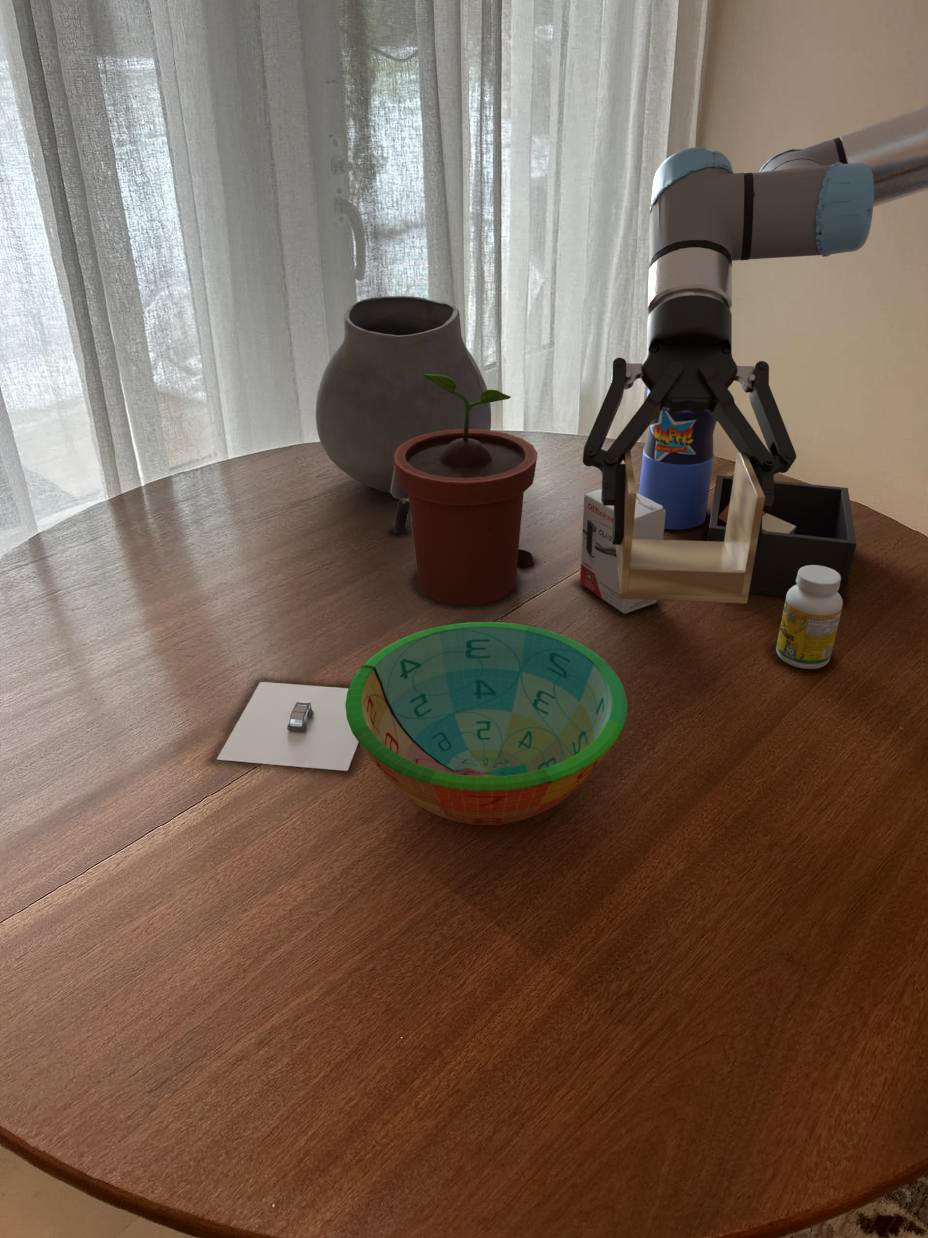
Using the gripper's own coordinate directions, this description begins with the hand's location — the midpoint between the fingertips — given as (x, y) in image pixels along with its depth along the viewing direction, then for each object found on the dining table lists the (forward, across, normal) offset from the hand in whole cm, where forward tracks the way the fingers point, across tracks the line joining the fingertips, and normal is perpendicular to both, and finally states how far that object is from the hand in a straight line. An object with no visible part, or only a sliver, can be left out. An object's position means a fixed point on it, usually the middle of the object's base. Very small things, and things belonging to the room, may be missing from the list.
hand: (685, 542), depth 80 cm
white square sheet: (+17, +34, -8) cm, 39 cm away
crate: (+1, 0, -5) cm, 5 cm away
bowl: (+22, +16, -3) cm, 27 cm away
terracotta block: (-13, -10, -33) cm, 37 cm away
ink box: (-2, +4, -27) cm, 27 cm away
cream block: (-10, -14, -33) cm, 38 cm away
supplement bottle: (+6, -15, -19) cm, 25 cm away
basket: (-9, -15, -33) cm, 37 cm away
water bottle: (-18, -4, -42) cm, 46 cm away
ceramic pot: (-23, +33, -48) cm, 63 cm away
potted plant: (-5, +22, -30) cm, 38 cm away
